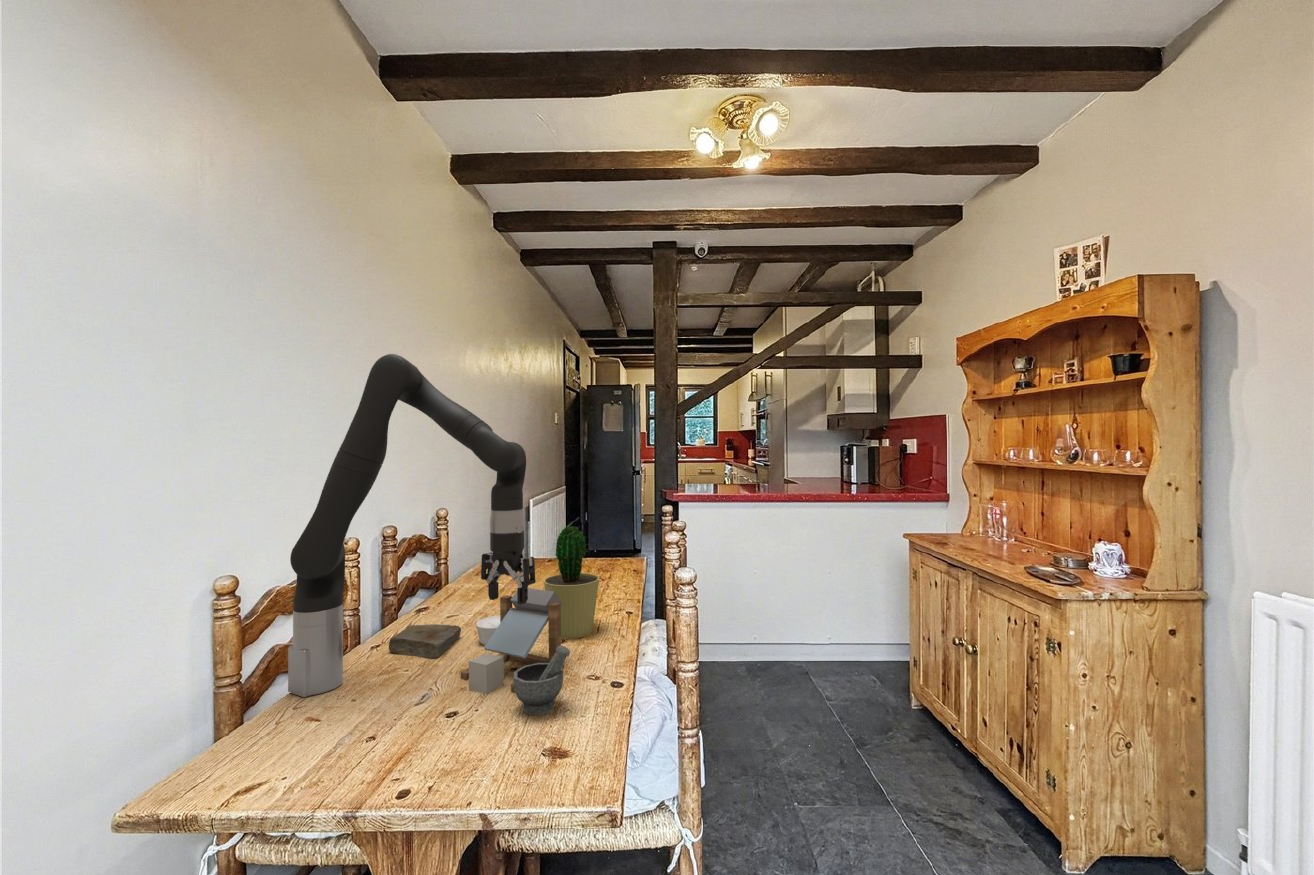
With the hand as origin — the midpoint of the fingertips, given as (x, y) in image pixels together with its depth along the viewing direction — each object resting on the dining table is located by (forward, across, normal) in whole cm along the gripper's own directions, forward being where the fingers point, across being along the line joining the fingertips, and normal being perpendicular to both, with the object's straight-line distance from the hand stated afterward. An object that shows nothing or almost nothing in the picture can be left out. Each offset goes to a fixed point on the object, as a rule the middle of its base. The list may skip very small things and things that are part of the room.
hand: (507, 601), depth 121 cm
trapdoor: (+8, 0, +6) cm, 10 cm away
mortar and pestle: (+17, +17, -9) cm, 25 cm away
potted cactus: (+17, -5, +30) cm, 35 cm away
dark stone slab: (+17, -33, +4) cm, 37 cm away
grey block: (+11, 0, -7) cm, 12 cm away
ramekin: (+17, -19, +16) cm, 30 cm away
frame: (+16, 0, +2) cm, 17 cm away
